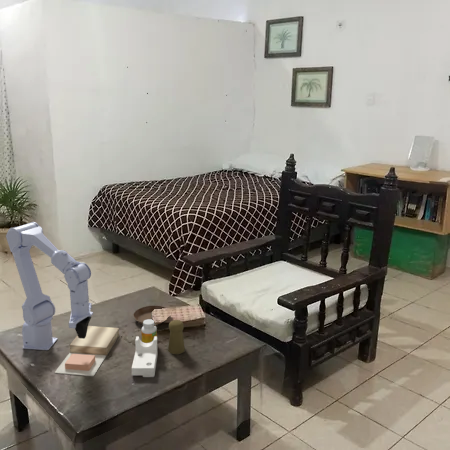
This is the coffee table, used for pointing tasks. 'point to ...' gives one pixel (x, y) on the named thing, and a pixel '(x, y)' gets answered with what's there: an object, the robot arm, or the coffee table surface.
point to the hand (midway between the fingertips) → (82, 337)
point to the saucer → (144, 313)
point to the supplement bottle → (148, 331)
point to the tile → (80, 362)
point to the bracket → (145, 358)
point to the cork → (176, 337)
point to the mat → (91, 372)
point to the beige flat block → (95, 341)
